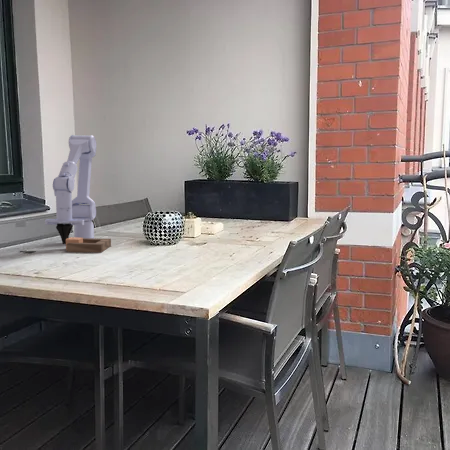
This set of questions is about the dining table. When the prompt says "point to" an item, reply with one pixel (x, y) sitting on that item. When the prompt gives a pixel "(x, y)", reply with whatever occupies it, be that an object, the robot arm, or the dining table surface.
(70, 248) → the tray
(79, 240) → the key block
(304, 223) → the dining table surface
